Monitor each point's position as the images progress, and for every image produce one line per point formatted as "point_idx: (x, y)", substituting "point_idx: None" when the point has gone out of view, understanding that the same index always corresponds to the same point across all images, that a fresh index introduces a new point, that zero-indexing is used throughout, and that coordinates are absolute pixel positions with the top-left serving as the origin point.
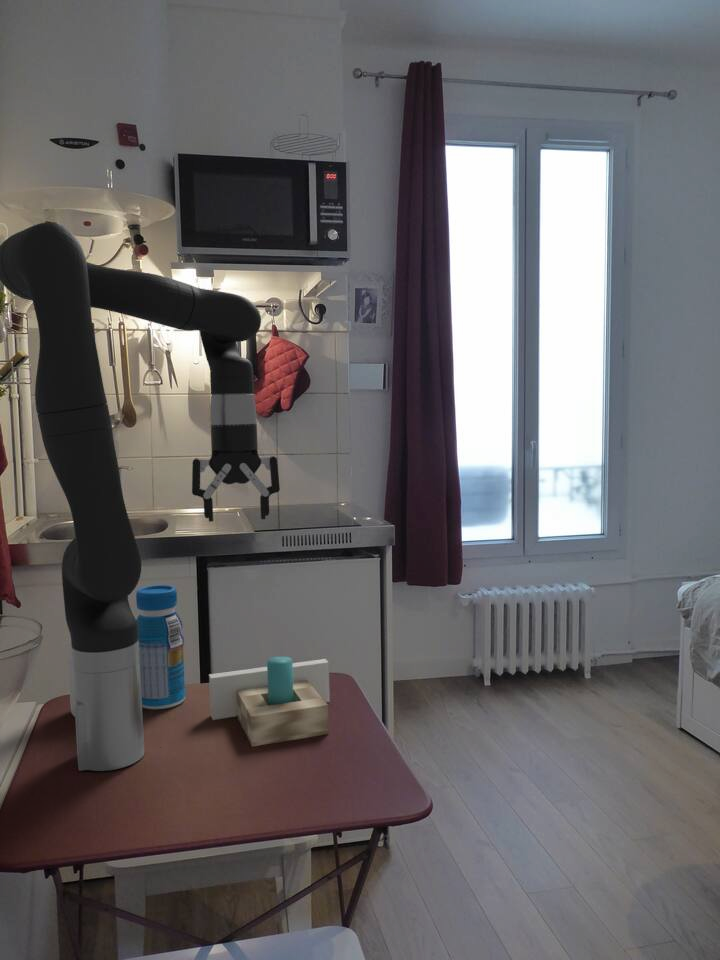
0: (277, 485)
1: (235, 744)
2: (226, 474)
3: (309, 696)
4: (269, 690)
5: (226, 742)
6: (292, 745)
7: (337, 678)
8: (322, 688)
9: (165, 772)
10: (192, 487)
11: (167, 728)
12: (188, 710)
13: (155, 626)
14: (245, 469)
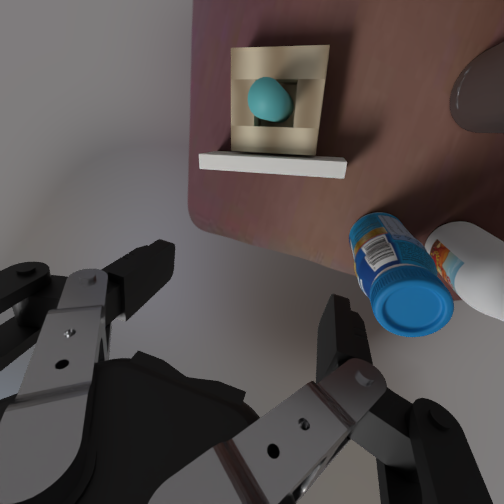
0: (1, 278)
1: (344, 70)
2: (225, 445)
3: (243, 91)
4: (288, 98)
5: (351, 81)
6: (287, 38)
7: (194, 211)
8: (218, 152)
9: (452, 11)
10: (473, 459)
11: (397, 156)
12: (357, 198)
13: (414, 252)
14: (46, 413)
